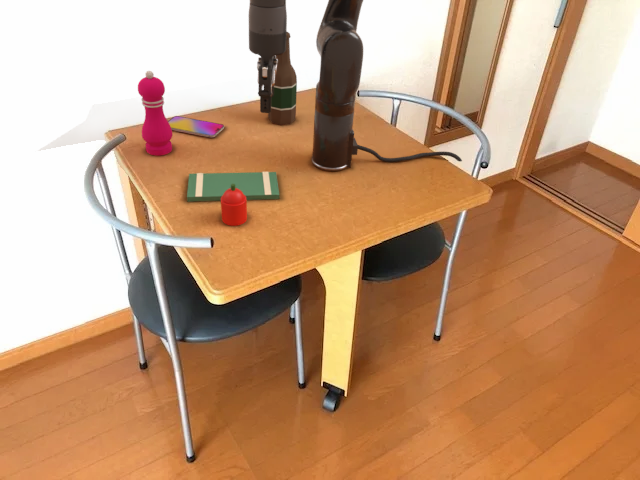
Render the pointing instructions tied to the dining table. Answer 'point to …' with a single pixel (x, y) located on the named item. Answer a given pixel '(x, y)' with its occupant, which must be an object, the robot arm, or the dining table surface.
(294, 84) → the beer bottle
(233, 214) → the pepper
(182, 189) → the dining table surface
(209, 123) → the smartphone
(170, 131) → the pepper mill
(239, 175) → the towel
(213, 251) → the dining table surface
